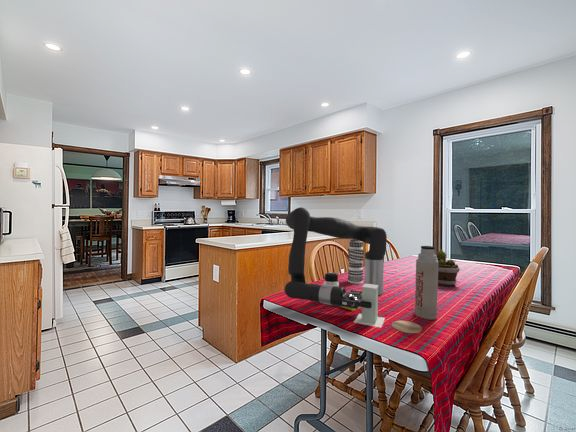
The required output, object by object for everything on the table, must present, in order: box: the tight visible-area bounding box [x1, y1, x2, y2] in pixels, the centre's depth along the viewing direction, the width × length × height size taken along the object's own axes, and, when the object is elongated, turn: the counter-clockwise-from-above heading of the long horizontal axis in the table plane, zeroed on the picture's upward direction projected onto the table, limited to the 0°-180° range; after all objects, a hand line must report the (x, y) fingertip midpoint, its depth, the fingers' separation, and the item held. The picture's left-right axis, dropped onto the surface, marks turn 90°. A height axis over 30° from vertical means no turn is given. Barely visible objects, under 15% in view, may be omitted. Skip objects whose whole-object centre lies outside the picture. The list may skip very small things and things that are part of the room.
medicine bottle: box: [322, 272, 340, 287], centre depth 133 cm, size 7×7×12 cm
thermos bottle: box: [414, 245, 439, 320], centre depth 113 cm, size 8×8×28 cm
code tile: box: [353, 312, 386, 328], centre depth 108 cm, size 10×10×1 cm
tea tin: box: [361, 283, 379, 324], centre depth 108 cm, size 5×5×13 cm
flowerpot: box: [435, 249, 460, 287], centre depth 161 cm, size 14×15×20 cm
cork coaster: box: [391, 320, 423, 334], centre depth 102 cm, size 10×10×1 cm
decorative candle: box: [347, 239, 365, 285], centre depth 164 cm, size 9×9×25 cm
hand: (373, 301), depth 107 cm, fingers open, 8 cm apart
